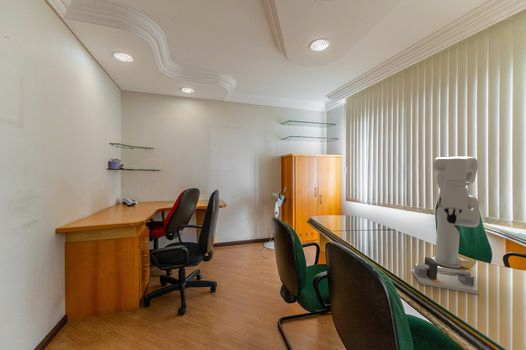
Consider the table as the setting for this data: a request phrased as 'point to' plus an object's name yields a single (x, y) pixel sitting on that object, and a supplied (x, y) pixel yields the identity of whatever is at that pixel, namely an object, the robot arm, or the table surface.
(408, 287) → the table surface
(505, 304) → the table surface
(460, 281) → the pipe jig
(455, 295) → the table surface
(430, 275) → the collar
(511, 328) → the table surface
